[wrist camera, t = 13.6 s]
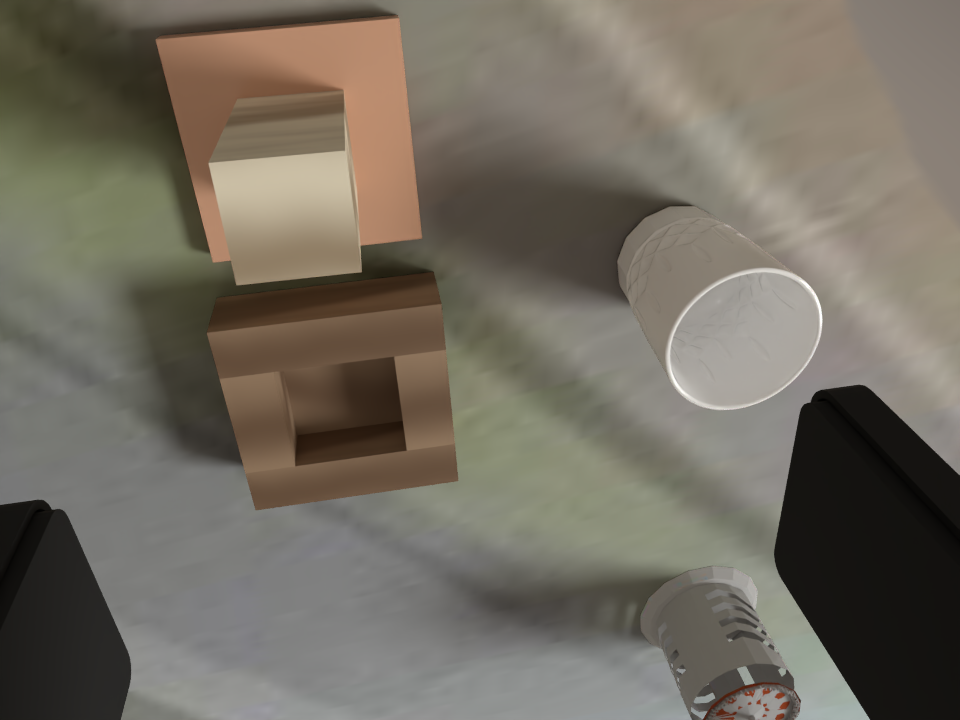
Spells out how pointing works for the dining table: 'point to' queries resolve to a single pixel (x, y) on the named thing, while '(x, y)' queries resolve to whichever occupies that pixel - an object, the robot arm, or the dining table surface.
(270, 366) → the walnut holder
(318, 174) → the birch peg
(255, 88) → the terracotta tile
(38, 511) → the robot arm
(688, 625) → the french press
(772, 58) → the dining table surface
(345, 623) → the dining table surface
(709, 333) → the white cup
